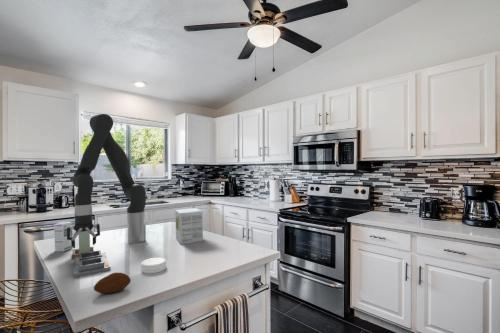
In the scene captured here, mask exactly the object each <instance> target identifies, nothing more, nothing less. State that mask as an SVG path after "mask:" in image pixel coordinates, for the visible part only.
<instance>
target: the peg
mask: <svg viewBox="0 0 500 333" xmlns="http://www.w3.org/2000/svg"><path fill="white" fill-rule="evenodd" d="M90 235H91V234H90V231H81V232H79V234H78V249H79V253H85V252H91V251H90V247H91V236H90ZM79 253H78V254H79Z"/></svg>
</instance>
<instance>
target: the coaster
mask: <svg viewBox="0 0 500 333" xmlns="http://www.w3.org/2000/svg"><path fill="white" fill-rule="evenodd" d="M166 268H167V260H166V258H165V257H151V258H147V259H144V260H142V262H141V263H140V271H141V272H142V273H144V274H156V273H159V272H162V271H164V270H165V269H166Z"/></svg>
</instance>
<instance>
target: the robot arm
mask: <svg viewBox="0 0 500 333" xmlns="http://www.w3.org/2000/svg"><path fill="white" fill-rule="evenodd" d="M89 127H90V129H91V131H93V135H92V137H91V140H90V141H89V143H88V145H87V146H86V148H85V150H84V152H83V154H82V158H81V159H80V164H79V166H78V168H76V171H75V173H74V175H73V177H72V184H73V185H74V186H75V187H76V188H77V193H76V194H75V195H74V212H73V213H74V225H73V226H72V227H67V240H71V241H72V247H73V248H72V249H75V248H76V238H77V237H79V232H81V231H90V235H91V236H92V246H95V245H96V243H97V237H99V236H101V227H100V223H99V222H97V223H96V224H93V206H92V193H93V189H94V178H93V177H92V175H91V173H92V171H94V170H95V169H96V167H97V165H98V161H99V158H100V156H101V152H102V149H103V152H104V153H105V155H106V157H107V159H108V161H109V164H110V166H111V168H112V170H113V171H114V173H115V175H116V177H117V179H118V181H119V184H120V186H121V188H122V192H123V194H124V196H125V197H126V198H127V199H128V200H129V201H130V202H129V206H128V207H127V208H126V214H127V216H126V217H127V218H126V220H127V221H126V222H127V224H126V226H127V243H128V244H140V243H143V242H146V241H147V240H146V239H147V235H146V234H147V233H146V230H147V228H146V224H145V220H146V219H145V208H146V203H147V202H146V201H147V191H146V188H145V186H144V185H142V184H138V183H137V184H136V182H135V181H134V179H133V177H132V173H131V165H130V164H131V162H130V160H129V159H128V155H127V154H126V152H125V150H124V149H123V147H122V146H120V144H119V143H118V142H117V141H116V140H115V139H114V137H113V136H112V133H111V130H112V129H113V127H114V119H113V117H111V115H109V114H108V113H100V114H96V115H92V117H90V119H89ZM94 228H95V229H96V233H95V232H93V230H92V229H94ZM73 230H74V231H75V233H73V234H72V237H70V232H71V231H72V232H73Z"/></svg>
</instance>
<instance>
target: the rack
mask: <svg viewBox="0 0 500 333" xmlns="http://www.w3.org/2000/svg"><path fill="white" fill-rule="evenodd" d="M78 254H79V253H78ZM110 264H111V263H110V261H109V259H108V257H107V254H106V252H103V253H102V251H101V250H93V252H91V251H90V252H87V253H81V254H79V258H74V259H73V278H74V277H76V278H79V277H86V276H90V275H93V274H94V275H95V274H100V273H103V272H109V271H112V270H111V269H112V268H111V267H112V266H111V265H110Z"/></svg>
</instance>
